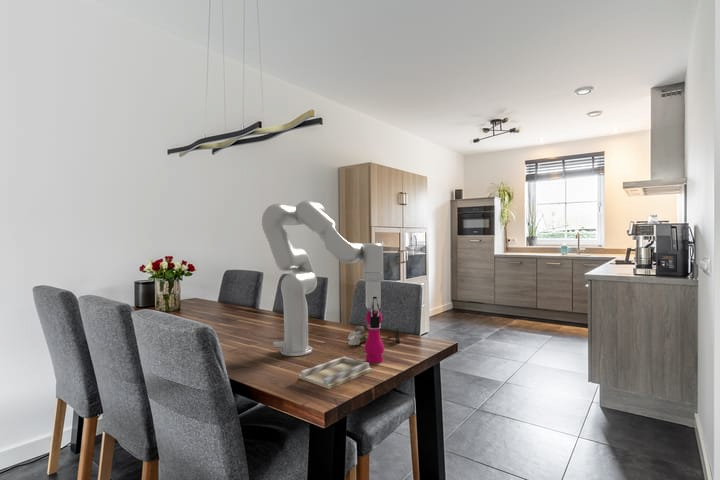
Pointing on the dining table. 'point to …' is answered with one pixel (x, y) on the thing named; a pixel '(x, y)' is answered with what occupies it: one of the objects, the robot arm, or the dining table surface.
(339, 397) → the dining table surface
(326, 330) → the dining table surface
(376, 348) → the pepper mill
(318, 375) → the rail board
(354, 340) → the artificial flower
